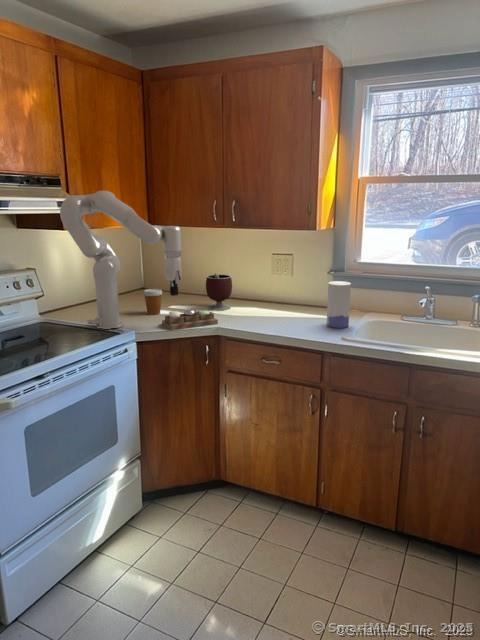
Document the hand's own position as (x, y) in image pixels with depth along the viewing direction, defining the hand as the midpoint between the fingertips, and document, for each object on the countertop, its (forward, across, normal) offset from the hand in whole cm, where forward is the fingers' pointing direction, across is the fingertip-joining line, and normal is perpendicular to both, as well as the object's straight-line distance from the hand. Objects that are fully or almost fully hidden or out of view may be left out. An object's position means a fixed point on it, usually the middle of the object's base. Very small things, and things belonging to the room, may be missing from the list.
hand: (174, 294), depth 214 cm
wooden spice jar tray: (+15, 0, +7) cm, 16 cm away
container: (+15, +35, +66) cm, 76 cm away
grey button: (+11, 0, +7) cm, 13 cm away
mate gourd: (+15, -22, +33) cm, 43 cm away
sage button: (+12, 0, +15) cm, 19 cm away
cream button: (+11, 0, 0) cm, 11 cm away
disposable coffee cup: (+15, -28, -1) cm, 32 cm away
